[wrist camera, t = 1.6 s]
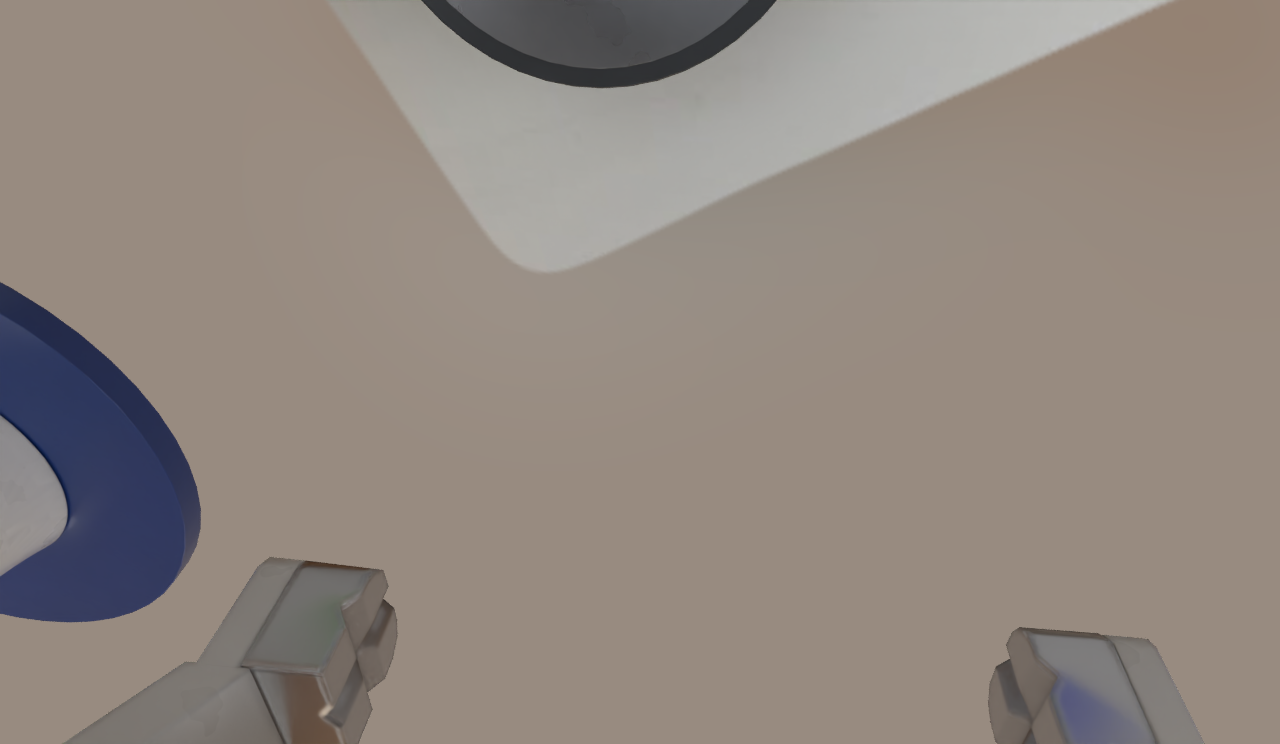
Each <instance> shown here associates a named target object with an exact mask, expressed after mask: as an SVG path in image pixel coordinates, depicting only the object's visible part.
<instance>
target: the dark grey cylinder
mask: <svg viewBox="0 0 1280 744" xmlns="http://www.w3.org/2000/svg"><path fill="white" fill-rule="evenodd" d="M422 1H423V2H424V3H425V4H426V6H427V7H428V8H429V9H430V10H431V11H432V12H433V13H434V14H435V15H436V16H437V17H438V18H439V19H440V20H441V21H442V22H443V23H444V24H445V25H447V26H448V27H449V28H450V29H452V30H453V31H454V32H455V33H456V34H458V35H459V36H460V37H461V38H462V39H464V40H465V41H466V42H467V43H469V44H471V45H472V46H474V47H475V48H477V49H478V50H480V51H481V52H483V53H484V54H486V55H488V56H489V57H491V58H492V59H494V60H496V61H498V62H500V63H502V64H504V65H507V66H509V67H511V68H513V69H515V70H517V71H519V72H522V73H525V74H528V75H531V76H534V77H536V78H539V79H542V80H545V81H550V82H555V83H560V84H565V85H570V86H576V87H591V88H613V87H627V86H634V85H639V84H644V83H648V82H653V81H658V80H661V79H664V78H666V77H669V76H672V75H675V74H678V73H681V72H683V71H686V70H688V69H690V68H692V67H694V66H696V65H698V64H700V63H701V62H703V61H705V60H707V59H709V58H711V57H713V56H714V55H716V54H717V53H719V52H720V51H721V50H723V49H724V48H726V47H727V46H729V45H730V44H732V43H733V42H735V41H736V40H737V39H738V38H740V37H741V36H742V35H743V34H744V33H745V32H746V31H747V30H748V29H750V28H751V27H752V26H753V25H754V24H755V23H756V22H757V21H758V20H760V19H761V18H762V16H763V15H764V14H765V13H766V12H767V11H768V10H769V8H770V7H771V6H772V5H773V4H774V3H775V2H776V0H422Z"/></svg>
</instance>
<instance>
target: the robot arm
mask: <svg viewBox="0 0 1280 744" xmlns="http://www.w3.org/2000/svg"><path fill="white" fill-rule="evenodd" d="M67 517H68V509H67V502H66V498H65V494H64V492H63V489H62V486H61V484H60V482H59V480H58V478H57V476H56V475H55V473H54V471H53V470H52V468H51V467H50V465H49V464H48V462H47V461H46V460H45V458H44V457H43V456H42V455H41V453H40V452H39V451H38V450H37V449H36V448H35V446H34V445H33V444H32V443H31V442H30V441H29V440H28V439H27V438H26V437H25V436H24V435H23V434H22V433H21V432H20V431H19V430H17V429H16V428H15V427H14V426H13V425H12V424H11V423H9V422H8V421H7V420H6V419H5V418H3V417H2V416H1V415H0V576H2V575H3V574H5V573H6V572H7V571H9V570H10V569H12V568H13V567H15V566H16V565H18V564H19V563H21V562H22V561H24V560H25V559H27V558H29V557H30V556H32V555H34V554H35V553H37V552H39V551H40V550H42V549H44V548H46V547H47V546H49V545H51V544H52V543H54V542H55V541H56V540H57V539H58V538H59V537H60V536H61V534H62V533H63V531H64V529H65V526H66V523H67ZM387 589H388V583H387V580H386V577H385V574H384V571H383V570H379V569H370V568H362V567H353V566H346V565H337V564H328V563H321V562H312V561H304V560H294V559H284V558H274V557H270V558H268V559H267V560H266V561H264V562H263V563H262V564H261V565H259V567H257V569H256V571H255V572H254V574H253V575H252V577H251V578H250V580H249V581H248V583H247V584H246V586H245V588H244V589H243V591H242V592H241V594H240V596H239V597H238V599H237V600H236V602H235V603H234V605H233V606H232V608H231V610H230V611H229V613H228V614H227V616H226V617H225V619H224V620H223V622H222V624H221V625H220V627H219V628H218V630H217V631H216V633H215V635H214V636H213V638H212V639H211V641H210V642H209V644H208V645H207V647H206V649H205V650H204V652H203V653H202V655H201V656H200V658H199V660H198V661H197V663H196V662H184V663H183V664H181V665H180V666H179V667H177V668H175V669H174V670H172V671H171V672H169V673H168V674H166V675H165V676H163V677H162V678H160V679H159V680H157V681H156V682H154V683H153V684H151V685H150V686H148V687H147V688H146V689H144V690H142V691H141V692H139V693H138V694H136V695H135V696H133V697H132V698H130V699H129V700H127V701H126V702H124V703H123V704H121V705H120V706H119V707H117V708H115V709H114V710H112V711H111V712H109V713H108V714H106V715H105V716H103V717H102V718H100V719H99V720H97V721H96V722H94V723H93V724H91V725H90V726H88V727H87V728H85V729H84V730H82V731H81V732H79V733H78V734H76V735H75V736H73V737H72V738H70V739H69V740H67V741H66V742H64V743H63V744H358V743H359V741H360V738H361V735H362V733H363V731H364V729H365V726H366V724H367V721H368V719H369V717H370V714H371V712H372V706H371V703H370V699H369V696H368V693H367V692H368V691H370V690H371V689H372V688H373V687H375V686H376V685H377V684H379V683H380V682H381V681H382V680H383V679H385V677H386V675H387V672H388V669H389V667H390V664H391V662H392V659H393V655H394V650H395V645H396V640H397V619H396V614H395V610H394V608H393V607H392V606H391V605H390V604H389V603H387V602H386V601H385V600H384V599H383V598H384V595H385V593H386V591H387ZM1006 646H1007V649H1008V653H1009V656H1010V659H1009V660H1007V661H1005V662H1003V663H1001V664H1000V665H998V666H996V668H995V671H994V673H993V676H992V679H991V681H990V687H989V700H988V705H989V714H990V722H991V726H992V730H993V734H994V738H995V741H996V743H997V744H1204V742H1203V740H1202V737H1201V735H1200V734H1199V732H1198V730H1197V727H1196V725H1195V723H1194V721H1193V720H1192V717H1191V715H1190V713H1189V712H1188V710H1187V708H1186V706H1185V703H1184V702H1183V699H1182V697H1181V695H1180V693H1179V692H1178V690H1177V687H1176V686H1175V683H1174V681H1173V679H1172V678H1171V675H1170V674H1169V672H1168V670H1167V667H1166V666H1165V664H1164V662H1163V660H1162V658H1161V656H1160V654H1159V652H1158V650H1157V648H1156V646H1154V645H1153V644H1152V643H1151V642H1150V641H1149V640H1148V639H1142V638H1132V637H1121V636H1109V635H1100V634H1098V633H1085V632H1073V631H1060V630H1047V629H1035V628H1022V627H1019V628H1018V629H1016V630H1015V631H1013V632H1012V633H1011V636H1010V638H1009V640H1008V642H1007V644H1006Z"/></svg>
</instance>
